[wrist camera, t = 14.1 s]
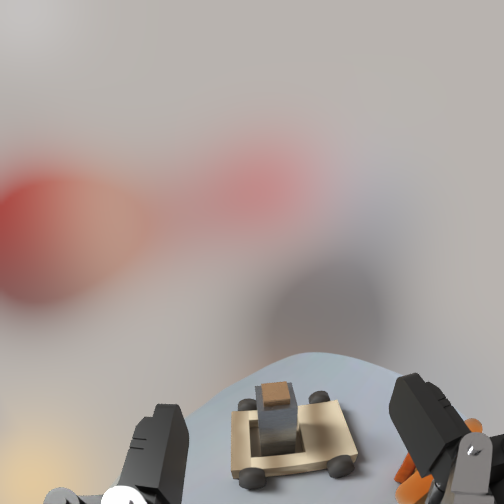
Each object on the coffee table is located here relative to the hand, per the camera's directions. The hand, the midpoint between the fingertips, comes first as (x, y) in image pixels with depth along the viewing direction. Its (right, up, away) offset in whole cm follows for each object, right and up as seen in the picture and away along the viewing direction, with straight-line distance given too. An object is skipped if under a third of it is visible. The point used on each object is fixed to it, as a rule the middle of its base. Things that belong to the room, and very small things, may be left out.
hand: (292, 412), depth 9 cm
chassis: (+4, -21, +25) cm, 33 cm away
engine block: (+2, -21, +25) cm, 32 cm away
